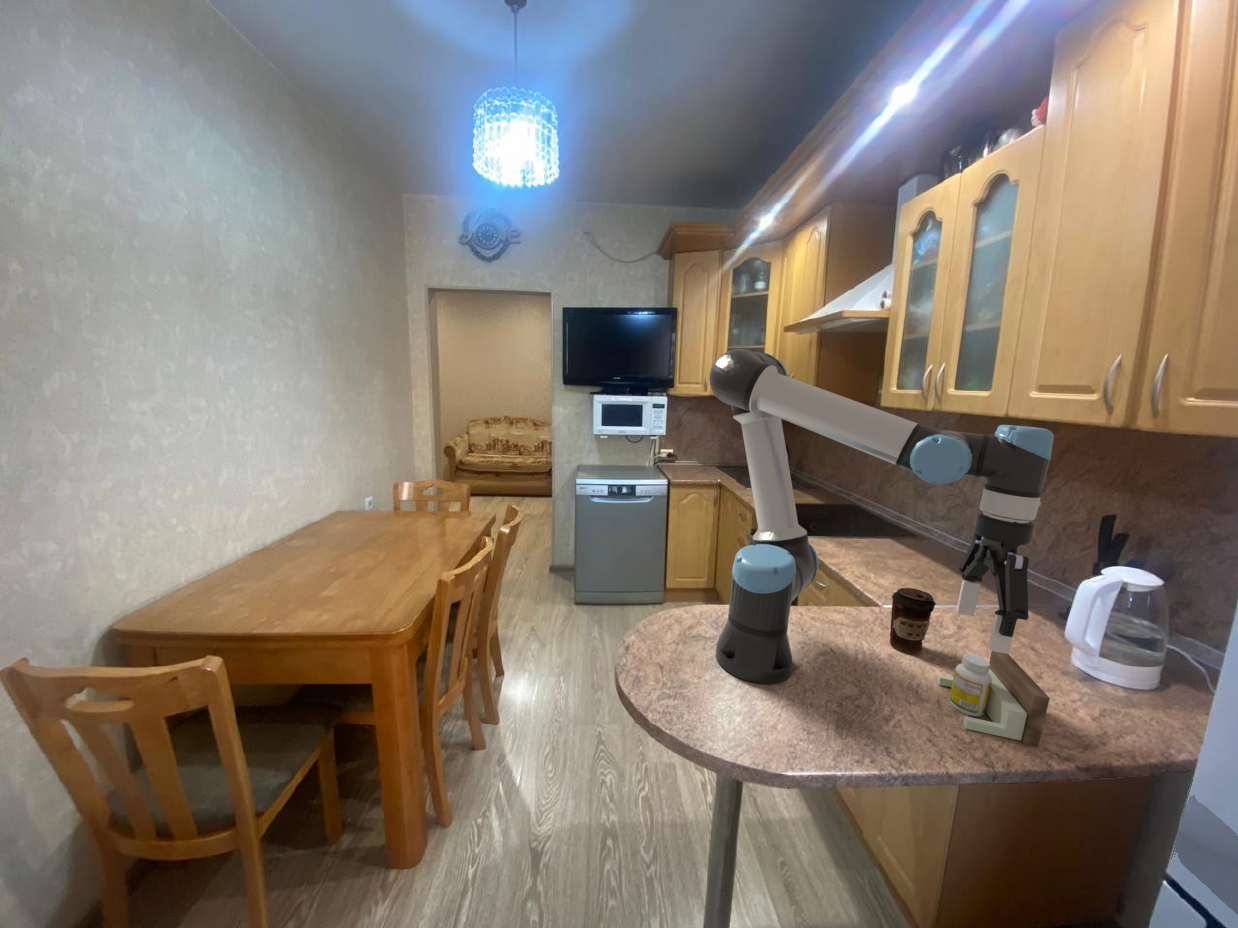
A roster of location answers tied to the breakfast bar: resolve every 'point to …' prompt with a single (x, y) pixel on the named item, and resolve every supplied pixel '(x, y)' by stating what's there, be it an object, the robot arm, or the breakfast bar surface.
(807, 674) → the breakfast bar surface
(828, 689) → the breakfast bar surface
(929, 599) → the coffee cup
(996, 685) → the slot block
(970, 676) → the supplement bottle
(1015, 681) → the backstop wall
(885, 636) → the breakfast bar surface
